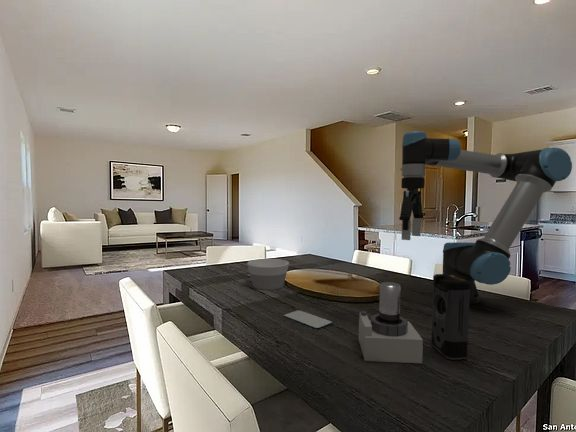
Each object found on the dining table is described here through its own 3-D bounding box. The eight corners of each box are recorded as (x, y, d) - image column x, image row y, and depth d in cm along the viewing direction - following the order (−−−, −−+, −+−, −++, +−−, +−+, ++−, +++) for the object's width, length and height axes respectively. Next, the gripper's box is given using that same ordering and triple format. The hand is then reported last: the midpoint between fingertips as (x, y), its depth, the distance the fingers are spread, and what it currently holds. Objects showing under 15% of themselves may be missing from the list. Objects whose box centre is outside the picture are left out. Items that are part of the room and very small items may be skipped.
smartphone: (282, 317, 114) (317, 331, 102) (282, 315, 114) (317, 328, 102) (299, 312, 119) (333, 324, 108) (299, 309, 119) (333, 322, 108)
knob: (382, 323, 92) (383, 280, 91) (401, 328, 89) (403, 284, 88) (375, 329, 88) (377, 285, 87) (395, 334, 85) (397, 288, 84)
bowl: (296, 284, 156) (297, 261, 155) (273, 294, 140) (273, 268, 139) (263, 278, 166) (263, 257, 165) (238, 287, 150) (238, 263, 149)
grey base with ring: (408, 342, 94) (409, 310, 94) (422, 363, 82) (423, 327, 82) (358, 340, 95) (359, 308, 95) (364, 360, 83) (365, 325, 83)
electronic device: (428, 344, 93) (431, 273, 92) (449, 343, 93) (451, 273, 92) (447, 360, 84) (450, 282, 82) (470, 360, 84) (473, 282, 83)
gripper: (411, 179, 128) (409, 233, 129) (391, 175, 107) (389, 240, 109) (432, 178, 124) (430, 235, 125) (415, 174, 103) (413, 242, 104)
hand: (411, 237), depth 117 cm, fingers open, 13 cm apart
